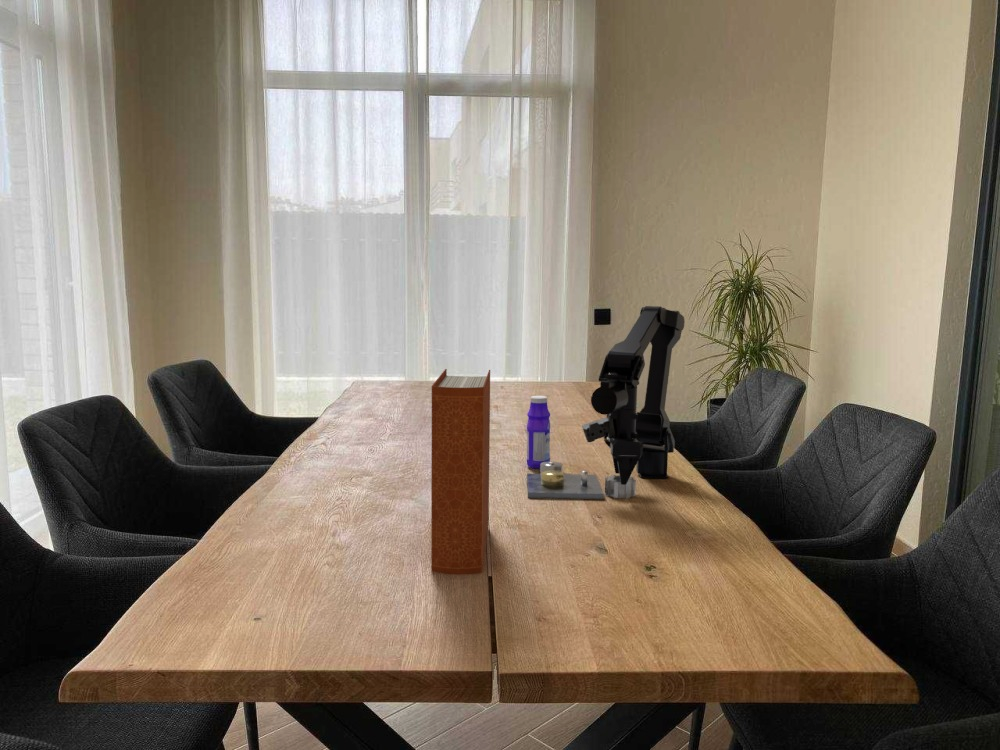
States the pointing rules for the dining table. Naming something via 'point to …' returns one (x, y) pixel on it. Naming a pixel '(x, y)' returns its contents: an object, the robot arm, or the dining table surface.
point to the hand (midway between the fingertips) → (620, 478)
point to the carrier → (562, 484)
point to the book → (460, 473)
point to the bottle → (538, 432)
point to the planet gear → (619, 487)
